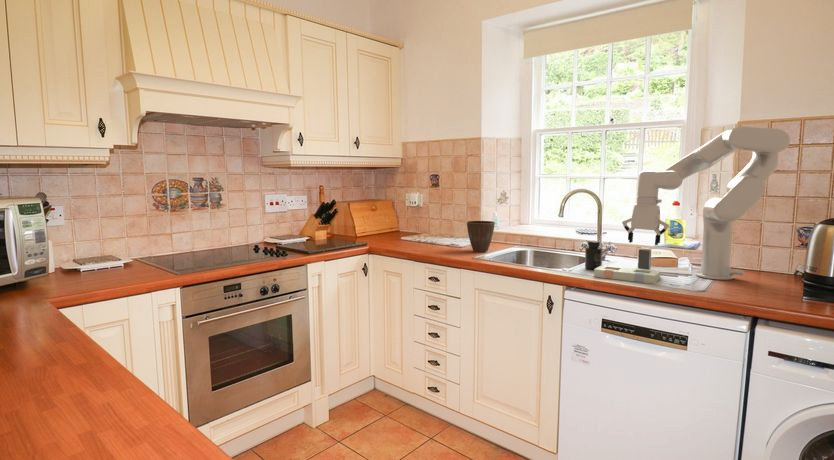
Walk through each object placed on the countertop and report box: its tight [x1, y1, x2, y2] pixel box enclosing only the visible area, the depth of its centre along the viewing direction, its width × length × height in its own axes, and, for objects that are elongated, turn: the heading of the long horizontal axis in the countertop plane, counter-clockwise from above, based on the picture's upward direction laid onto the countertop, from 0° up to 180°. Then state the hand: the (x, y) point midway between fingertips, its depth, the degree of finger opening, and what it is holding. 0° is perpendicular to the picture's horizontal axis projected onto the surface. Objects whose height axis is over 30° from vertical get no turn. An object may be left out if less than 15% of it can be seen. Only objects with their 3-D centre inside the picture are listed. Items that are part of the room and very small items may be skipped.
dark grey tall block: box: [637, 247, 652, 270], centre depth 194 cm, size 4×4×11 cm
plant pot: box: [466, 220, 496, 253], centre depth 253 cm, size 15×15×16 cm
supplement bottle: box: [584, 240, 603, 271], centre depth 204 cm, size 7×7×12 cm
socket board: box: [593, 264, 662, 285], centre depth 187 cm, size 22×12×3 cm, turn 54°
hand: (643, 243), depth 193 cm, fingers open, 9 cm apart
